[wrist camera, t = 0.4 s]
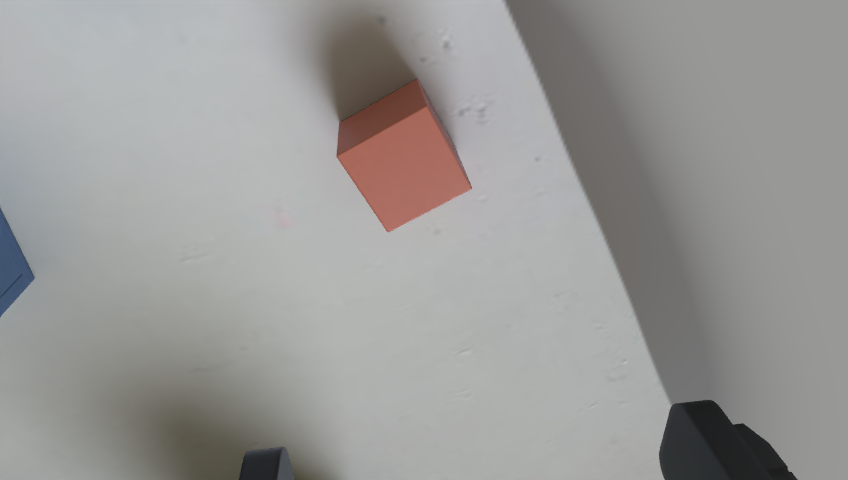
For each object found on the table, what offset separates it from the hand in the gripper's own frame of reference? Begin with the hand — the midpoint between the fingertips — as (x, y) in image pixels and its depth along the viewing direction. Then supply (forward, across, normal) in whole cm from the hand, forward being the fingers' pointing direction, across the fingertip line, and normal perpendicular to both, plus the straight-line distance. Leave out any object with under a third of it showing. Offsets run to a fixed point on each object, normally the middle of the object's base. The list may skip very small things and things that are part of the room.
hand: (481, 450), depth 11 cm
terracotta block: (+17, +1, -1) cm, 17 cm away
